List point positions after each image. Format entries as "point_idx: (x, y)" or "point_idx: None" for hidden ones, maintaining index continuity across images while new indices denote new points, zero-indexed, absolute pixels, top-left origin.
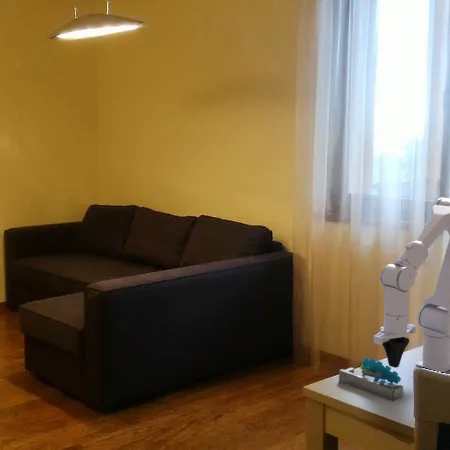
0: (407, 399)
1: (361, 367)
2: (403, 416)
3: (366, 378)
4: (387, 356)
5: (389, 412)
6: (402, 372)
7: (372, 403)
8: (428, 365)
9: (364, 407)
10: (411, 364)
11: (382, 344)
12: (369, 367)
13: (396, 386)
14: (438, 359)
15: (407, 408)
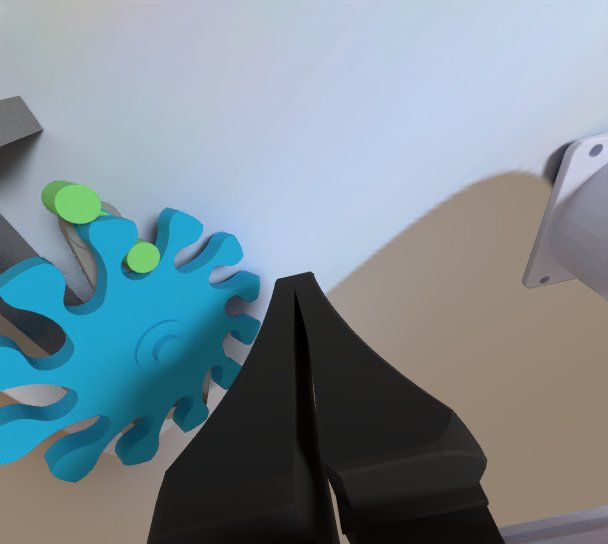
0: (212, 388)
1: (48, 209)
2: None
3: (34, 350)
4: (264, 327)
5: None
6: (410, 193)
7: None
8: (562, 230)
9: (12, 395)
10: (576, 110)
11: (196, 437)
12: (100, 273)
13: (174, 408)
14: (599, 292)
15: (172, 421)
